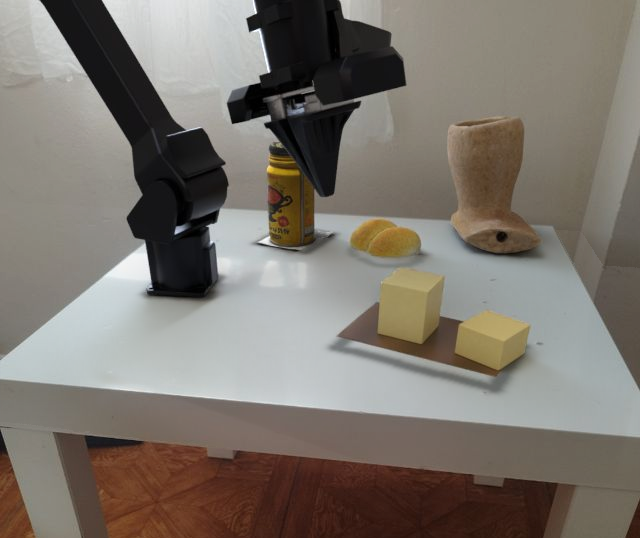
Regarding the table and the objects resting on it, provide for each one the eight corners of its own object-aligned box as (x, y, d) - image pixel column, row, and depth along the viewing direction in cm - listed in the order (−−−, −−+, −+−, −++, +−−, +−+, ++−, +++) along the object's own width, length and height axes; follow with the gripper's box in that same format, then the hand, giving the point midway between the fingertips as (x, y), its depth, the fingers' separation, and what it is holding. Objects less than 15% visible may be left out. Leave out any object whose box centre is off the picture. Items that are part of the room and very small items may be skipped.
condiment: (256, 243, 81) (251, 145, 74) (287, 226, 87) (286, 134, 80) (304, 252, 78) (304, 151, 71) (334, 234, 84) (336, 139, 78)
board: (335, 347, 57) (335, 335, 56) (375, 312, 64) (376, 301, 63) (494, 389, 51) (496, 376, 51) (520, 345, 58) (523, 334, 57)
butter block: (377, 333, 57) (380, 282, 54) (395, 316, 60) (400, 266, 57) (421, 344, 55) (427, 292, 52) (438, 326, 58) (445, 275, 55)
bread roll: (389, 271, 73) (392, 238, 71) (339, 251, 79) (340, 220, 76) (435, 256, 78) (438, 224, 75) (384, 238, 83) (386, 208, 81)
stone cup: (431, 221, 90) (444, 106, 81) (513, 222, 90) (535, 108, 81) (445, 256, 77) (462, 126, 69) (540, 258, 77) (569, 128, 69)
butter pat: (504, 341, 50) (498, 371, 51) (531, 324, 52) (524, 353, 54) (458, 324, 52) (454, 353, 54) (486, 309, 55) (481, 337, 56)
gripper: (446, -56, 45) (466, 170, 52) (304, 6, 59) (336, 176, 66) (325, -41, 40) (366, 206, 47) (203, 23, 54) (249, 204, 62)
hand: (327, 196), depth 56 cm, fingers closed
